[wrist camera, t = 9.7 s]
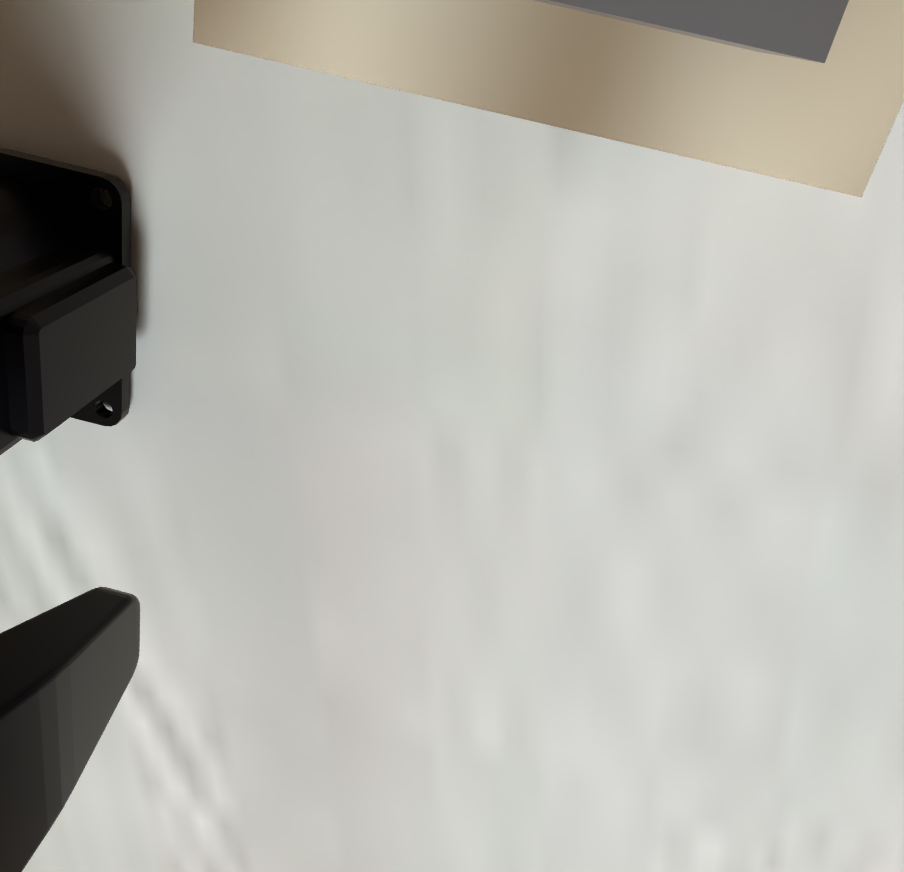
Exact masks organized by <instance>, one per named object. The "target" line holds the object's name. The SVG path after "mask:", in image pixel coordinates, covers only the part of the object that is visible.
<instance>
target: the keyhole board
mask: <svg viewBox="0 0 904 872" xmlns="http://www.w3.org/2000/svg"><path fill="white" fill-rule="evenodd" d="M193 42H194V43H199V44H203V45H207V46H212V47H216V48H220V49H224V50H229V51H233V52H237V53H242V54H246V55H250V56H255V57H259V58H263V59H268V60H272V61H276V62H280V63H285V64H289V65H293V66H298V67H302V68H306V69H311V70H315V71H319V72H324V73H328V74H332V75H336V76H341V77H345V78H349V79H354V80H358V81H362V82H367V83H371V84H375V85H380V86H384V87H388V88H392V89H397V90H401V91H405V92H410V93H414V94H418V95H423V96H427V97H431V98H436V99H440V100H444V101H448V102H453V103H457V104H461V105H466V106H470V107H474V108H479V109H483V110H487V111H491V112H496V113H500V114H504V115H509V116H513V117H517V118H522V119H526V120H530V121H535V122H539V123H543V124H547V125H552V126H556V127H560V128H565V129H569V130H573V131H578V132H582V133H586V134H591V135H595V136H599V137H603V138H608V139H612V140H616V141H621V142H625V143H629V144H634V145H638V146H642V147H647V148H651V149H655V150H659V151H664V152H668V153H672V154H677V155H681V156H685V157H690V158H694V159H698V160H702V161H707V162H711V163H715V164H720V165H724V166H728V167H733V168H737V169H741V170H746V171H750V172H754V173H758V174H763V175H767V176H771V177H776V178H780V179H784V180H789V181H793V182H797V183H802V184H806V185H810V186H814V187H819V188H823V189H827V190H832V191H836V192H840V193H845V194H849V195H853V196H858V197H862V195H863V193H864V190H865V188H866V186H867V183H868V181H869V179H870V177H871V174H872V172H873V170H874V167H875V165H876V163H877V160H878V158H879V156H880V154H881V151H882V149H883V147H884V144H885V142H886V140H887V137H888V135H889V133H890V131H891V128H892V126H893V124H894V121H895V119H896V117H897V114H898V112H899V110H900V108H901V105H902V103H903V101H904V0H849V2H848V4H847V7H846V9H845V12H844V15H843V17H842V20H841V22H840V25H839V27H838V30H837V33H836V35H835V38H834V40H833V43H832V46H831V48H830V51H829V53H828V56H827V59H826V61H825V63H820V62H814V61H808V60H802V59H796V58H791V57H785V56H779V55H773V54H767V53H761V52H756V51H752V50H748V49H743V48H739V47H735V46H730V45H726V44H722V43H717V42H713V41H708V40H704V39H700V38H695V37H691V36H687V35H682V34H678V33H673V32H669V31H665V30H660V29H656V28H652V27H647V26H643V25H639V24H634V23H630V22H625V21H621V20H617V19H612V18H608V17H604V16H599V15H595V14H591V13H586V12H582V11H577V10H573V9H569V8H564V7H560V6H556V5H551V4H547V3H543V2H538V1H534V0H195V4H194V30H193Z"/></svg>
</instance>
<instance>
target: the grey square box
mask: <svg viewBox="0 0 904 872" xmlns="http://www.w3.org/2000/svg"><path fill="white" fill-rule="evenodd" d="M534 1H538V2H543V3H547V4H551V5H556V6H560V7H564V8H569V9H573V10H577V11H582V12H586V13H591V14H595V15H599V16H604V17H608V18H612V19H617V20H621V21H625V22H630V23H634V24H639V25H643V26H647V27H652V28H656V29H660V30H665V31H669V32H673V33H678V34H682V35H687V36H691V37H695V38H700V39H704V40H708V41H713V42H717V43H722V44H726V45H730V46H735V47H739V48H743V49H748V50H752V51H756V52H761V53H767V54H773V55H779V56H785V57H791V58H796V59H802V60H808V61H814V62H820V63H825V61H826V59H827V56H828V53H829V51H830V48H831V46H832V43H833V40H834V38H835V35H836V33H837V30H838V27H839V25H840V22H841V20H842V17H843V15H844V12H845V9H846V7H847V4H848V2H849V0H534Z"/></svg>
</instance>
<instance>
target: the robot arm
mask: <svg viewBox="0 0 904 872" xmlns="http://www.w3.org/2000/svg"><path fill="white" fill-rule="evenodd" d="M101 188H103V189H105V190H107V192H108V193H109V194H110V196H111V199H112V204H111V207H110V206H108V205H106V204H105V203H104V202H103V201H102V199H101V196H100V191H101ZM130 254H131V199H130V193H129V191H128V189H127V187H126V185H125V184H124V183H123V182H122V181H121V180H120V179H119V178H118V177H116V176H113V175H111V174H108V173H104V172H100V171H96V170H91V169H87V168H83V167H79V166H75V165H71V164H66V163H62V162H58V161H54V160H50V159H46V158H42V157H37V156H33V155H29V154H25V153H21V152H17V151H13V150H8V149H4V148H0V455H1V454H2V453H4V452H5V451H6V450H8V449H9V448H11V447H12V446H13V445H15V444H16V443H17V442H19V441H20V440H22V439H25V440H29V441H33V442H35V441H38V440H40V439H41V438H42V437H44V436H45V435H47V434H48V433H50V432H51V431H52V430H54V429H55V428H56V427H58V426H59V425H60V424H62V423H63V422H64V421H66V420H67V419H68V418H69V417H71V418H75V419H79V420H83V421H87V422H91V423H95V424H99V425H103V426H113V425H116V424H117V423H119V422H120V421H121V420H122V419H123V418H124V417H125V416H126V415H127V414H128V412H129V408H130V372H131V371H132V370H133V369H134V368H135V366H136V291H137V279H136V277H135V275H134V273H133V271H132V269H131V268H130ZM102 400H104V401H106V402H108V403H109V404H110V405H111V407H112V409H113V411H110V410H108V409H107V408H106V407H105V406H104V404H103V401H102ZM139 646H140V603H139V600H138V598H137V597H136V596H134V595H133V594H129V593H126V592H122V591H118V590H114V589H111V588H107V587H98V588H95V589H92V590H90V591H88V592H86V593H84V594H81V595H79V596H77V597H75V598H73V599H71V600H69V601H67V602H65V603H63V604H61V605H59V606H57V607H54V608H52V609H50V610H48V611H46V612H44V613H42V614H40V615H38V616H36V617H34V618H32V619H29V620H27V621H25V622H23V623H21V624H19V625H17V626H15V627H13V628H11V629H9V630H7V631H4V632H2V633H0V872H22V871H23V869H24V868H25V866H26V865H27V863H28V862H29V860H30V859H31V857H32V856H33V854H34V852H35V851H36V849H37V848H38V846H39V845H40V843H41V842H42V840H43V839H44V837H45V836H46V834H47V833H48V831H49V830H50V828H51V827H52V825H53V823H54V822H55V820H56V819H57V817H58V815H59V814H60V812H61V811H62V809H63V807H64V805H65V804H66V802H67V800H68V798H69V796H70V794H71V793H72V791H73V789H74V787H75V785H76V783H77V781H78V780H79V778H80V776H81V774H82V772H83V770H84V768H85V766H86V764H87V762H88V760H89V758H90V757H91V755H92V753H93V751H94V749H95V747H96V745H97V743H98V741H99V739H100V737H101V735H102V734H103V732H104V730H105V728H106V726H107V724H108V722H109V720H110V718H111V716H112V714H113V712H114V711H115V709H116V707H117V705H118V703H119V701H120V699H121V697H122V695H123V693H124V691H125V689H126V688H127V686H128V684H129V682H130V680H131V678H132V676H133V674H134V671H135V669H136V666H137V662H138V658H139Z"/></svg>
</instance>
